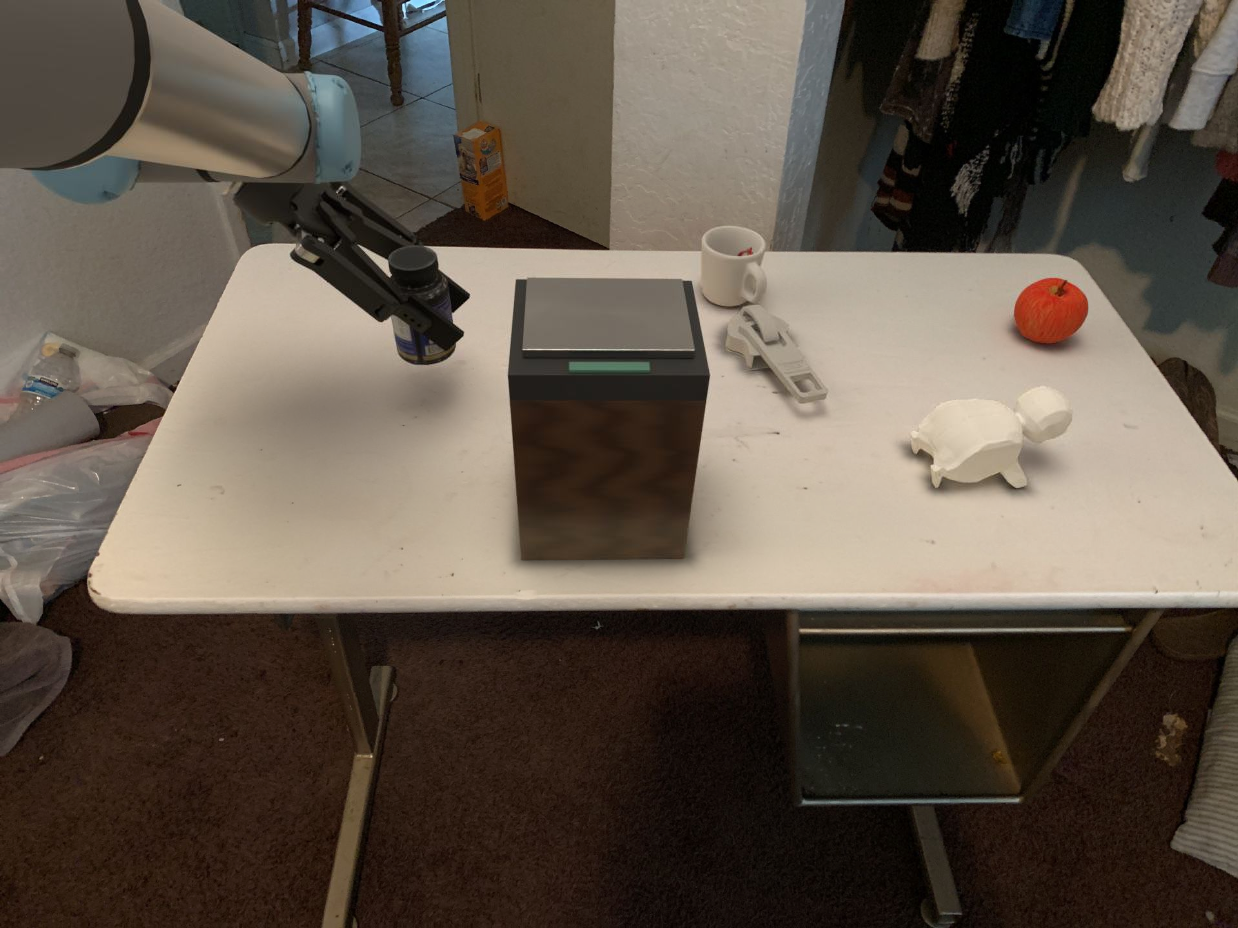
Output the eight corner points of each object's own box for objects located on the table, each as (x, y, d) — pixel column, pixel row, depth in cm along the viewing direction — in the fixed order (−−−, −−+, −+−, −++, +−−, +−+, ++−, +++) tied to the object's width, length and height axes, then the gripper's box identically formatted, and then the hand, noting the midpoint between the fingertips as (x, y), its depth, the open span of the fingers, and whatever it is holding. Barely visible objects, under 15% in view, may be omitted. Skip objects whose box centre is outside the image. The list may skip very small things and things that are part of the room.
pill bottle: (458, 333, 90) (448, 241, 83) (454, 367, 86) (442, 274, 78) (400, 333, 90) (384, 241, 82) (393, 368, 85) (375, 274, 78)
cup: (782, 314, 106) (793, 259, 101) (731, 331, 103) (740, 275, 97) (732, 274, 113) (741, 219, 107) (683, 288, 110) (689, 233, 104)
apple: (1061, 319, 108) (1088, 264, 102) (1079, 356, 102) (1109, 301, 96) (998, 313, 108) (1022, 259, 102) (1013, 350, 102) (1039, 295, 97)
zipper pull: (777, 423, 91) (784, 393, 88) (713, 330, 103) (717, 301, 100) (841, 410, 93) (850, 380, 90) (770, 320, 105) (776, 291, 102)
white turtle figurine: (943, 516, 86) (1087, 465, 84) (938, 464, 80) (1093, 408, 78) (908, 459, 92) (1043, 410, 90) (902, 407, 86) (1045, 354, 84)
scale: (509, 400, 63) (507, 366, 61) (517, 304, 72) (515, 270, 70) (706, 400, 64) (711, 366, 61) (689, 305, 73) (692, 272, 71)
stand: (521, 560, 76) (509, 400, 63) (526, 461, 85) (517, 304, 72) (684, 558, 77) (706, 400, 64) (671, 460, 86) (689, 305, 73)
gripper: (259, 149, 82) (445, 293, 94) (196, 247, 68) (423, 401, 80) (302, 94, 78) (489, 252, 91) (245, 186, 65) (474, 357, 77)
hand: (458, 322), depth 85 cm, fingers closed on pill bottle, 6 cm apart
